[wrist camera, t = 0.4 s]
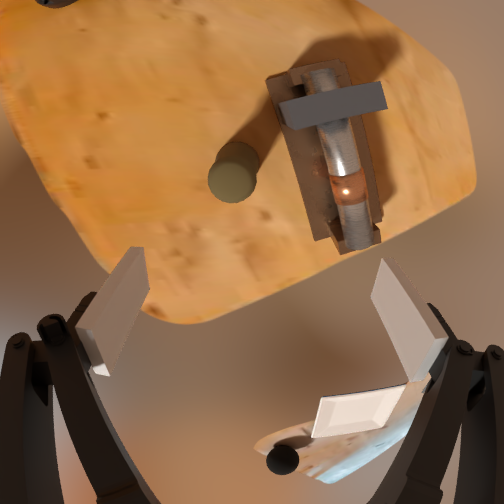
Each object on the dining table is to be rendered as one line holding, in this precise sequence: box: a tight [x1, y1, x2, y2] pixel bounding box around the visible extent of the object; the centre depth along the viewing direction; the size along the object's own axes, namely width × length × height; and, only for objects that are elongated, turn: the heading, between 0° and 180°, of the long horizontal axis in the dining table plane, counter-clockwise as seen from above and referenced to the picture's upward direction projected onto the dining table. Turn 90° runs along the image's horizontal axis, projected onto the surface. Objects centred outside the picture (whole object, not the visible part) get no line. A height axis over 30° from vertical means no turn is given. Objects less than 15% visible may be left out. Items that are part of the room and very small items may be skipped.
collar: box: [278, 81, 388, 130], centre depth 29 cm, size 3×10×10 cm, turn 108°
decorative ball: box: [266, 446, 299, 475], centre depth 72 cm, size 10×10×10 cm
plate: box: [311, 384, 406, 438], centre depth 66 cm, size 22×22×2 cm
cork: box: [208, 142, 259, 203], centre depth 34 cm, size 6×6×11 cm
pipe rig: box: [265, 59, 382, 255], centre depth 34 cm, size 24×11×9 cm, turn 18°
